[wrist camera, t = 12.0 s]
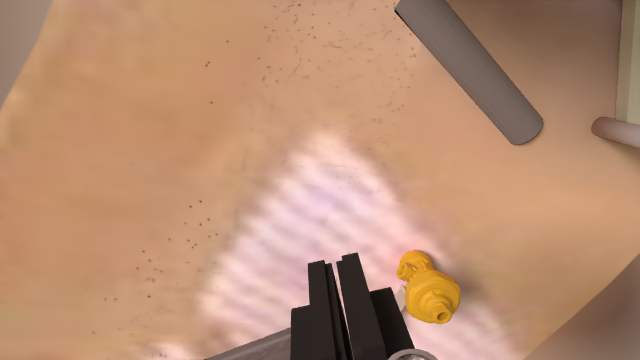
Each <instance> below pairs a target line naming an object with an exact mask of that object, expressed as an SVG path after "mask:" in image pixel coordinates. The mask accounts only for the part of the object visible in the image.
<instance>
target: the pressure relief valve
mask: <svg viewBox="0 0 640 360" xmlns="http://www.w3.org/2000/svg"><path fill="white" fill-rule="evenodd" d="M397 276H398V278H399V279H401V280H404V281H407V282H408V284H407V285H406V287H405V286H403V285H402V286H401V287H400V289H399V290H398V292H397V293H396V295H395V299H396V301H397V304H398V306H399V309H400V312H401V311H402V309H403V308H404V306H405V305H406V308H407V310H408V312H409V314H410V315H411V316H412V317H414V318H416V319H419V320H421V321H424V322H427V323H438V324H443V323H446V322H449V321H450V319H451V317H452V314H453V313H454V312H455V311H456V310H457V309H458V306H459V301H460V288H459V287H458V285H457V283H456V282H455V280H454V279H453V278H452V277H450V276H448V275H446V274H444V273H441V272H439V271H436V270H434V268H433V263H432V261H431V259H430V258H429V256H428V255H427V254H425V253H423V252H421V251H417V250H414V251H410V252H407V253H406V254H405V255H403V257H402V258H401V260H400V265H399V267H398V270H397Z"/></svg>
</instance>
